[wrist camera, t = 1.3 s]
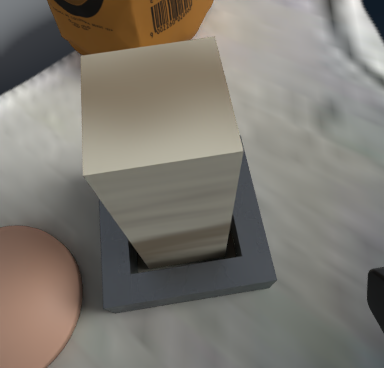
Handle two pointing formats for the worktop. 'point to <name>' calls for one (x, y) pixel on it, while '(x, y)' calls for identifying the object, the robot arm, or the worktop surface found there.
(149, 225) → the post
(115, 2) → the coffee package
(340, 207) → the worktop surface
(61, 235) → the worktop surface
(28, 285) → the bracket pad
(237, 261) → the post holder
